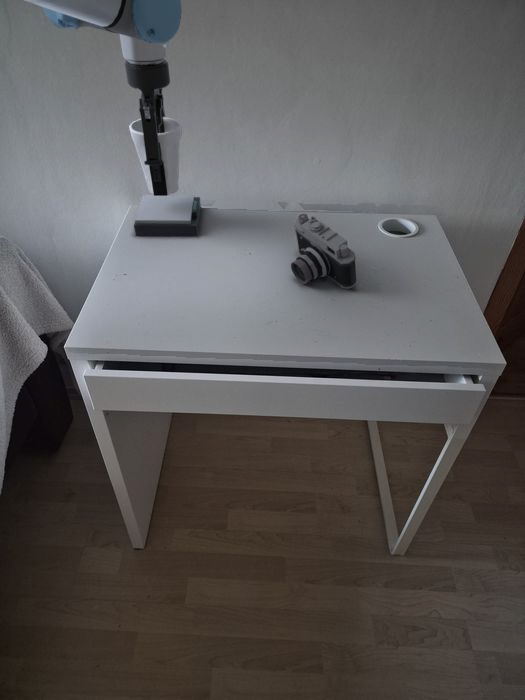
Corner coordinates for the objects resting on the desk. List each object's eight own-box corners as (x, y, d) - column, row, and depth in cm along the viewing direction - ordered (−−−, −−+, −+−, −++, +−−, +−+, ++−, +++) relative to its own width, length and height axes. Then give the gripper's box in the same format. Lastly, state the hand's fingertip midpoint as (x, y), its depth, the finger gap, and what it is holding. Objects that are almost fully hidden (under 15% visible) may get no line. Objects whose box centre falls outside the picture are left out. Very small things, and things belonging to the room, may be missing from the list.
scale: (135, 235, 95) (132, 219, 92) (144, 206, 104) (142, 190, 101) (197, 236, 95) (195, 219, 93) (200, 207, 104) (199, 191, 102)
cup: (194, 196, 93) (188, 130, 84) (147, 205, 90) (136, 137, 81) (178, 177, 99) (172, 114, 90) (134, 184, 96) (122, 120, 87)
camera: (275, 266, 91) (266, 227, 83) (308, 245, 92) (302, 205, 85) (324, 308, 82) (319, 269, 74) (360, 283, 83) (359, 242, 76)
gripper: (161, 76, 71) (176, 209, 87) (172, 46, 85) (184, 164, 101) (113, 75, 70) (137, 209, 86) (133, 45, 85) (151, 164, 101)
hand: (163, 184), depth 94 cm, fingers closed on cup, 8 cm apart
